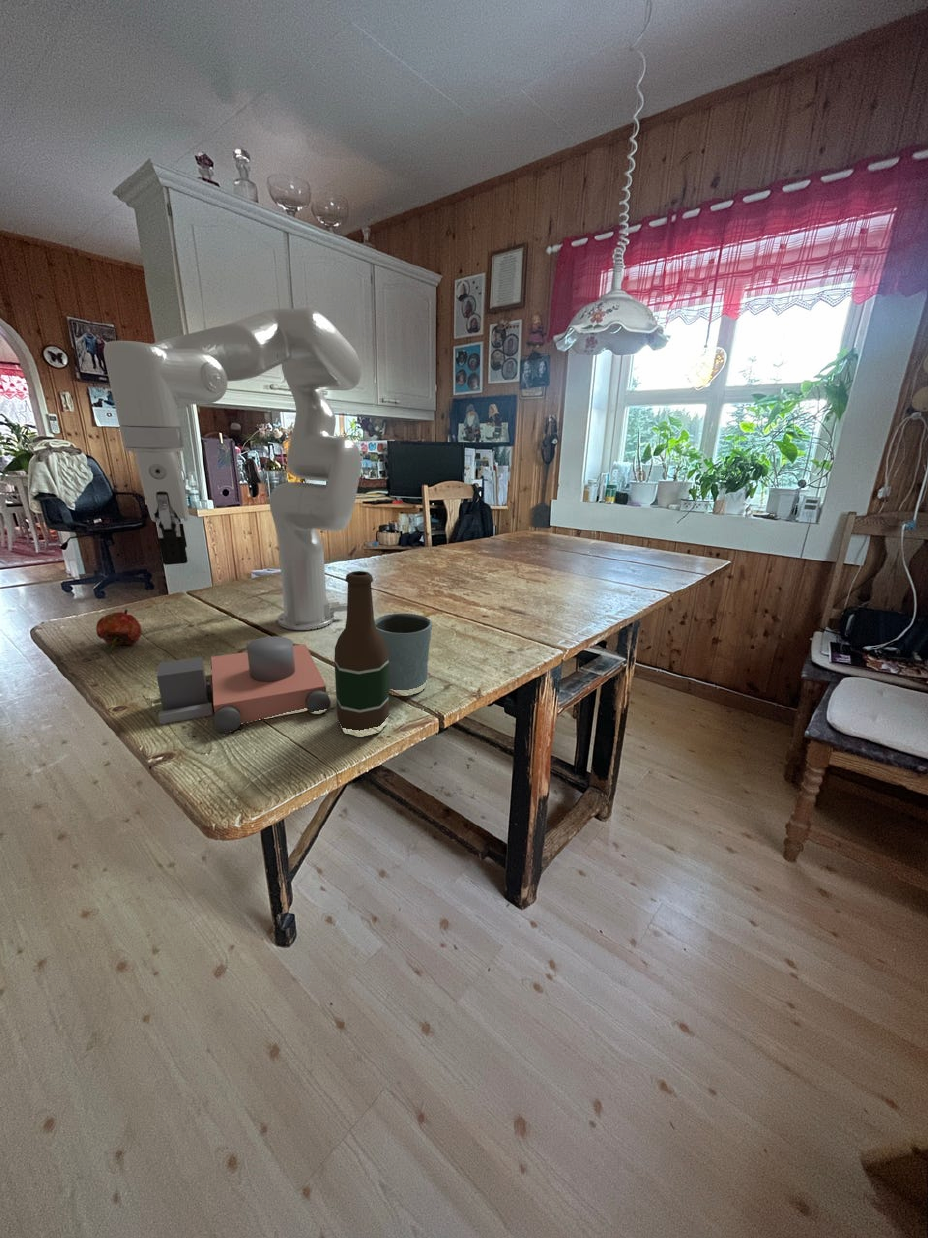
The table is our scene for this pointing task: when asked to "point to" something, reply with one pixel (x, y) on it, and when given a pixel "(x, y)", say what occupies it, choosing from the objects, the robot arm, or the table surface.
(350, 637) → the beer bottle
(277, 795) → the table surface
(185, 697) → the dark grey rounded cube
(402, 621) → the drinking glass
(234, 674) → the toy tractor cart
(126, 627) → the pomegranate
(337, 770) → the table surface
